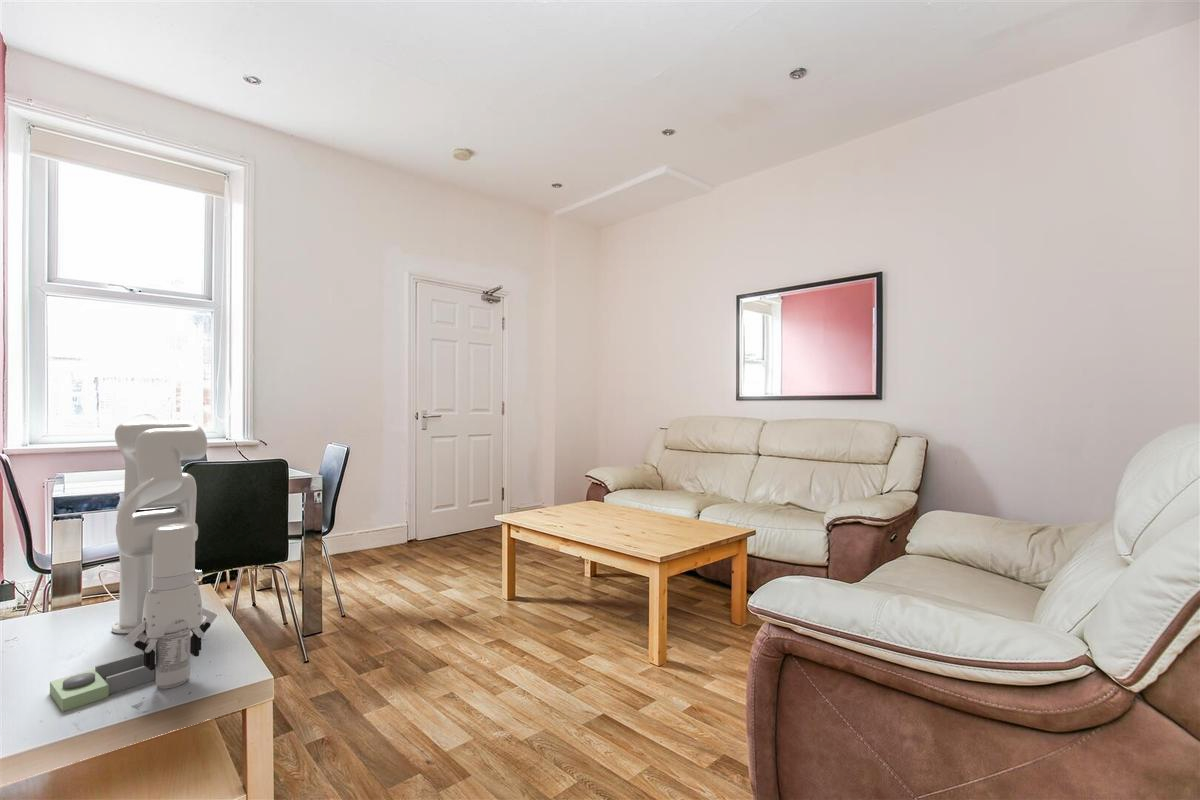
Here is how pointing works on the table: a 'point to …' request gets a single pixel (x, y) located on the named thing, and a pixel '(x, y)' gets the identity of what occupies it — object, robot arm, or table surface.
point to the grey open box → (100, 681)
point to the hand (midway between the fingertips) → (173, 660)
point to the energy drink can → (173, 655)
